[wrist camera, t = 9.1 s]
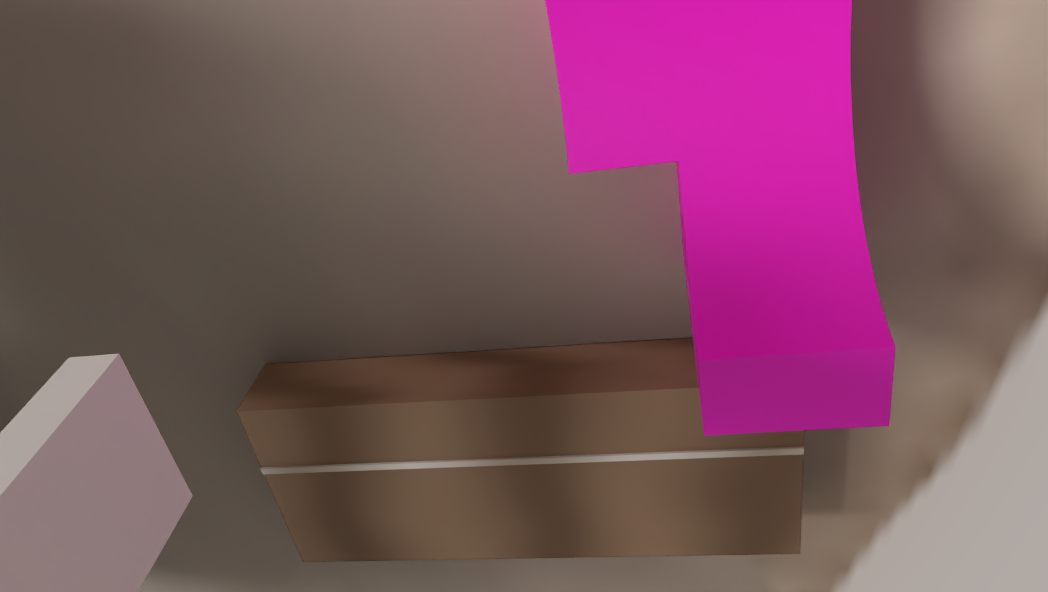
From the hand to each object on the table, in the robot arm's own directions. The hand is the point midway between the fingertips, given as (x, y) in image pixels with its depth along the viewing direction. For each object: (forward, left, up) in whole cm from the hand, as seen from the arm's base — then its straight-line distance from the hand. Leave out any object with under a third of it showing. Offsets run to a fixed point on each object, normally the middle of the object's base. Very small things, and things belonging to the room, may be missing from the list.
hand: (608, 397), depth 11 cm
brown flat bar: (-4, -12, -12) cm, 17 cm away
